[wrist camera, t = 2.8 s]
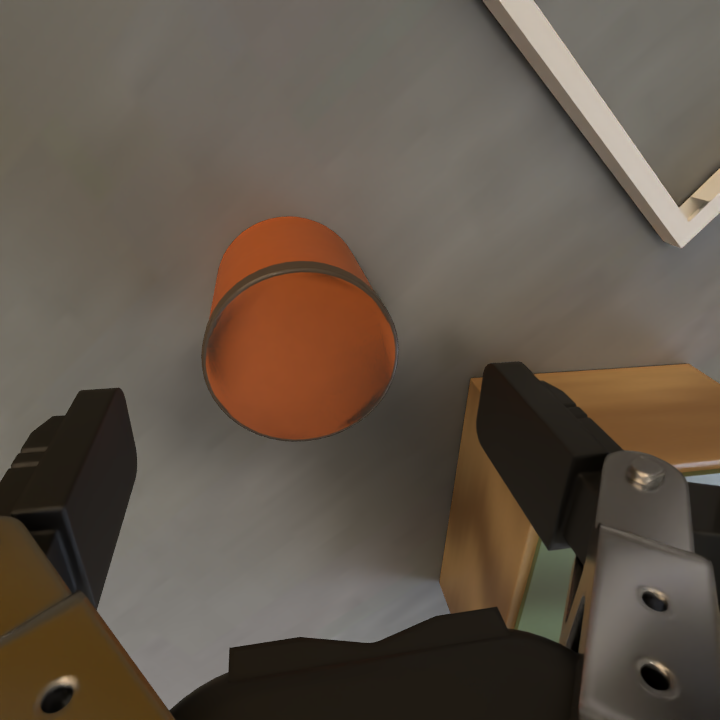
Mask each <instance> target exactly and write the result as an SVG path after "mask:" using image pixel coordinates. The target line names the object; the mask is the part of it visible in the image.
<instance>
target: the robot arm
mask: <svg viewBox="0 0 720 720" xmlns="http://www.w3.org/2000/svg"><path fill="white" fill-rule="evenodd" d="M476 431H477V436H478V440H479V443H480V445H481V447H482V448H483V450H484V451H485V453H486V455H487V456H488V458H489V459H490V461H491V462H492V464H493V466H494V467H495V469H496V470H497V472H498V473H499V475H500V476H501V478H502V480H503V481H504V483H505V484H506V486H507V487H508V489H509V490H510V492H511V494H512V495H513V497H514V498H515V500H516V501H517V503H518V505H519V506H520V508H521V509H522V511H523V512H524V514H525V515H526V517H527V519H528V520H529V522H530V523H531V525H532V526H533V528H534V530H535V531H536V533H537V534H538V536H539V537H540V539H541V540H542V542H543V544H544V545H545V547H546V548H547V550H548V551H553V550H560V549H567V548H572V550H573V551H574V553H575V554H576V555H575V558H574V562H573V565H572V569H571V575H570V581H569V586H568V592H567V598H566V604H565V610H564V616H563V621H562V627H561V633H560V639H559V643H557V642H555V641H553V640H550V639H548V638H546V637H543V636H540V635H536V634H533V633H530V632H526V631H521V630H517V629H510V628H507V626H506V624H505V622H504V620H503V618H502V616H501V614H500V612H499V610H498V607H491V608H485V609H478V610H472V611H465V612H459V613H452V614H446V615H439V616H435V617H433V618H430V619H428V620H426V621H423V622H421V623H419V624H417V625H414V626H412V627H410V628H408V629H405V630H403V631H401V632H399V633H396V634H394V635H392V636H390V637H387V638H385V639H383V640H380V641H378V642H374V643H360V642H349V641H338V640H326V639H315V638H304V637H297V638H291V639H285V640H278V641H272V642H265V643H259V644H252V645H246V646H239V647H233V648H230V650H229V672H228V673H226V674H223V675H221V676H219V677H216V678H214V679H213V680H211V681H209V682H207V683H206V684H204V685H202V686H200V687H199V688H197V689H196V690H194V691H193V692H192V693H190V694H189V695H187V696H186V697H185V698H183V699H182V700H181V701H180V702H179V703H177V704H176V705H175V706H174V707H173V708H172V709H170V710H168V709H167V707H166V706H165V704H164V703H163V702H162V700H161V699H160V698H159V696H158V695H157V693H156V692H155V691H154V689H153V688H152V687H151V685H150V684H149V682H148V681H147V680H146V678H145V677H144V675H143V674H142V673H141V671H140V670H139V669H138V667H137V666H136V664H135V663H134V662H133V660H132V659H131V658H130V656H129V655H128V653H127V652H126V651H125V649H124V648H123V646H122V645H121V644H120V642H119V641H118V640H117V638H116V637H115V635H114V634H113V633H112V631H111V630H110V629H109V627H108V626H107V624H106V623H105V622H104V620H103V619H102V617H101V616H100V615H99V613H98V612H97V607H98V604H99V600H100V597H101V594H102V590H103V587H104V583H105V580H106V577H107V573H108V570H109V567H110V563H111V560H112V556H113V553H114V550H115V546H116V543H117V539H118V536H119V533H120V529H121V526H122V522H123V519H124V516H125V512H126V509H127V505H128V502H129V499H130V495H131V492H132V489H133V485H134V482H135V478H136V472H137V453H136V447H135V442H134V437H133V433H132V428H131V423H130V419H129V414H128V410H127V405H126V400H125V396H124V393H123V391H122V390H121V389H120V388H109V389H94V390H81V391H79V393H78V394H77V396H76V398H75V399H74V401H73V403H72V405H71V406H70V408H69V410H68V412H67V413H66V415H65V416H53V417H51V418H50V419H49V420H47V421H46V422H45V423H43V424H42V425H41V426H39V427H38V428H37V429H36V430H34V431H33V432H32V433H31V434H30V436H29V437H28V439H27V441H26V442H25V444H24V445H23V447H22V449H21V453H20V454H18V455H17V456H16V458H15V460H14V461H13V463H12V464H11V469H8V471H7V472H6V474H5V475H4V477H3V478H2V480H1V482H0V720H720V486H717V485H709V484H701V483H693V482H687V480H686V478H685V477H684V476H683V474H682V473H681V472H680V471H679V470H678V469H676V468H675V467H674V466H672V465H671V464H669V463H668V462H666V461H664V460H662V459H660V458H658V457H655V456H653V455H650V454H647V453H643V452H638V451H628V450H623V449H622V448H621V447H620V446H619V445H618V444H617V443H616V442H615V441H614V440H613V439H612V438H611V437H610V436H609V435H608V434H607V433H606V432H605V431H603V430H602V429H601V428H600V427H599V426H598V425H597V424H596V423H595V422H594V421H593V420H592V419H591V418H590V417H589V418H588V417H587V414H586V413H585V412H584V411H583V410H582V409H581V408H580V407H577V406H576V403H575V402H574V401H573V400H572V399H571V398H570V397H569V396H568V395H567V394H566V393H565V392H563V391H562V390H560V389H558V388H556V387H555V386H553V385H551V384H549V383H547V382H545V381H544V380H541V381H540V380H539V379H538V378H537V377H536V376H535V375H534V374H533V373H532V372H531V371H530V370H529V369H528V368H527V367H526V366H525V365H524V364H523V363H522V362H504V363H490V364H488V365H487V366H486V367H485V369H484V373H483V379H482V385H481V392H480V398H479V405H478V411H477V418H476Z"/></svg>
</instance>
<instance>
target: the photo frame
mask: <svg viewBox="0 0 720 720" xmlns="http://www.w3.org/2000/svg"><path fill="white" fill-rule="evenodd" d="M482 1H483V2H484V3H485V5H486V6H487V7H488V9H489V10H490V11H491V13H492V14H493V15H494V17H495V18H496V19H497V21H498V22H499V23H500V25H501V26H502V27H503V29H504V30H505V31H506V33H507V34H508V35H509V37H510V38H511V39H512V41H513V42H514V43H515V45H516V46H517V47H518V49H519V50H520V51H521V53H522V54H523V55H524V57H525V58H526V59H527V61H528V62H529V63H530V65H531V66H532V67H533V69H534V70H535V71H536V73H537V74H538V75H539V77H540V78H541V79H542V81H543V82H544V83H545V84H546V86H547V87H548V88H549V90H550V91H551V92H552V94H553V95H554V96H555V98H556V99H557V100H558V102H559V103H560V104H561V106H562V107H563V108H564V110H565V111H566V112H567V114H568V115H569V116H570V118H571V119H572V120H573V122H574V123H575V124H576V126H577V127H578V128H579V130H580V131H581V132H582V134H583V135H584V136H585V138H586V139H587V140H588V142H589V143H590V144H591V146H592V147H593V148H594V150H595V151H596V152H597V154H598V155H599V156H600V158H601V159H602V160H603V162H604V163H605V164H606V166H607V167H608V168H609V170H610V171H611V172H612V174H613V175H614V176H615V178H616V179H617V180H618V182H619V183H620V184H621V186H622V187H623V188H624V190H625V191H626V192H627V194H628V195H629V196H630V198H631V199H632V200H633V202H634V203H635V204H636V206H637V207H638V208H639V210H640V211H641V212H642V214H643V215H644V216H645V217H646V219H647V220H648V221H649V223H650V224H651V225H652V227H653V228H654V229H655V231H656V232H657V233H658V235H659V236H660V237H661V239H662V240H663V241H664V242H666V243H669V244H671V245H674V246H676V247H679V248H683V247H684V246H685V245H686V244H687V243H688V242H689V241H690V240H691V239H692V238H693V237H694V236H695V235H696V234H698V233H699V232H700V231H701V230H702V229H703V228H704V227H705V226H706V225H707V224H708V223H709V222H710V221H711V220H712V219H714V218H715V217H716V216H717V215H718V214H719V213H720V169H719V170H718V171H716V172H715V173H714V174H713V175H712V176H711V177H710V178H709V179H708V180H707V181H706V182H705V183H704V184H703V185H702V186H701V187H700V188H699V189H698V190H697V191H696V192H695V193H694V194H693V195H692V196H690V197H689V198H688V199H687V200H686V201H685V202H684V203H683V204H682V205H681V206H680V207H678V206H677V204H676V203H675V202H674V200H673V199H672V197H671V196H670V194H669V193H668V192H667V190H666V189H665V187H664V186H663V184H662V183H661V182H660V180H659V179H658V177H657V176H656V174H655V173H654V172H653V170H652V169H651V167H650V166H649V164H648V163H647V162H646V160H645V159H644V157H643V156H642V154H641V153H640V152H639V150H638V149H637V147H636V146H635V144H634V143H633V142H632V140H631V139H630V137H629V136H628V134H627V133H626V132H625V130H624V129H623V127H622V126H621V124H620V123H619V122H618V120H617V119H616V117H615V116H614V114H613V113H612V112H611V110H610V109H609V107H608V106H607V104H606V103H605V102H604V100H603V99H602V97H601V96H600V94H599V93H598V92H597V90H596V89H595V87H594V86H593V84H592V83H591V82H590V80H589V79H588V77H587V76H586V74H585V73H584V72H583V70H582V69H581V67H580V66H579V64H578V63H577V62H576V60H575V59H574V57H573V56H572V54H571V53H570V52H569V50H568V49H567V47H566V46H565V44H564V43H563V42H562V40H561V39H560V37H559V36H558V34H557V33H556V32H555V30H554V29H553V27H552V26H551V24H550V23H549V22H548V20H547V19H546V17H545V16H544V14H543V13H542V12H541V10H540V9H539V7H538V6H537V4H536V3H535V2H534V0H482Z"/></svg>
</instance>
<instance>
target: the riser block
mask: <svg viewBox="0 0 720 720" xmlns="http://www.w3.org/2000/svg"><path fill="white" fill-rule="evenodd" d="M534 375H535V376H536V377H537V378H538V379H539V380H540V381H541V380H544V381H545V382H547V383H549V384H551V385H553V386H555V387H556V388H558V389H560V390H562V391H563V392H565V393H566V394H567V395H568V396H569V397H570V398H571V399H572V400H573V401H574V402H575V403H576V406H577V407H580V408H581V409H582V410H583V411H584V412H585V413H586V414H587V417H588V418H589V417H590V418H591V419H592V420H593V421H594V422H595V423H596V424H597V425H598V426H599V427H600V428H601V429H602V430H603V431H605V432H606V433H607V434H608V435H609V436H610V437H611V438H612V439H613V440H614V441H615V442H616V443H617V444H618V445H619V446H620V447H621V448H622V449H623V450H628V451H638V452H643V453H647V454H650V455H653V456H655V457H658V458H660V459H662V460H664V461H666V462H668V463H669V464H671V465H672V466H674V467H675V468H676V469H678V470H679V471H680V472H681V473H682V474H683V476H684V477H685V478H686V480H687V482H693V483H701V484H709V485H717V486H720V384H719V383H718V382H716V381H714V380H713V379H711V378H710V377H708V376H707V375H705V374H704V373H702V372H701V371H699V370H698V369H696V368H694V367H693V366H691V365H690V364H678V365H662V366H647V367H632V368H616V369H601V370H586V371H570V372H555V373H540V374H534ZM482 379H483V377H479V378H471V379H470V385H469V391H468V398H467V405H466V411H465V418H464V424H463V431H462V437H461V444H460V450H459V457H458V463H457V470H456V476H455V483H454V490H453V496H452V503H451V509H450V516H449V522H448V529H447V535H446V542H445V548H444V555H443V562H442V568H441V575H440V581H439V583H440V586H441V588H442V591H443V594H444V597H445V599H446V602H447V605H448V607H449V610H450V613H451V614H452V613H459V612H465V611H472V610H478V609H485V608H491V607H498V610H499V612H500V614H501V616H502V618H503V620H504V622H505V624H506V626H507V628H510V629H517V630H521V631H526V632H530V633H533V634H536V635H540V636H543V637H546V638H548V639H550V640H553V641H555V642H557V643H559V639H560V633H561V627H562V621H563V616H564V610H565V604H566V598H567V592H568V586H569V581H570V575H571V569H572V565H573V562H574V558H575V555H576V554H575V553H574V551H573V550H572V548H567V549H560V550H553V551H548V550H547V548H546V547H545V545H544V544H543V542H542V540H541V539H540V537H539V536H538V534H537V533H536V531H535V530H534V528H533V526H532V525H531V523H530V522H529V520H528V519H527V517H526V515H525V514H524V512H523V511H522V509H521V508H520V506H519V505H518V503H517V501H516V500H515V498H514V497H513V495H512V494H511V492H510V490H509V489H508V487H507V486H506V484H505V483H504V481H503V480H502V478H501V476H500V475H499V473H498V472H497V470H496V469H495V467H494V466H493V464H492V462H491V461H490V459H489V458H488V456H487V455H486V453H485V451H484V450H483V448H482V447H481V445H480V443H479V440H478V436H477V431H476V418H477V411H478V405H479V398H480V392H481V385H482Z"/></svg>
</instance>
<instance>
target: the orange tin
mask: <svg viewBox="0 0 720 720" xmlns="http://www.w3.org/2000/svg"><path fill="white" fill-rule="evenodd" d="M201 358H202V370H203V375H204V379H205V382H206V385H207V387H208V390H209V392H210V393H211V395H212V397H213V399H214V400H215V402H216V403H217V404H218V406H219V407H220V408H221V410H222V411H223V412H224V413H225V414H226V415H227V416H228V417H229V418H231V419H232V420H233V421H235V422H236V423H237V424H238V425H240V426H242V427H244V428H245V429H247V430H249V431H251V432H253V433H256V434H258V435H261V436H264V437H267V438H271V439H276V440H281V441H310V440H317V439H321V438H325V437H329V436H332V435H335V434H337V433H340V432H342V431H344V430H346V429H348V428H350V427H352V426H353V425H355V424H356V423H358V422H360V421H361V420H362V419H363V418H365V417H366V416H367V415H368V414H369V413H370V412H371V411H372V410H373V409H374V408H375V407H376V406H377V405H378V404H379V402H380V401H381V400H382V399H383V397H384V396H385V394H386V392H387V391H388V389H389V387H390V385H391V382H392V380H393V378H394V374H395V371H396V368H397V361H398V339H397V333H396V330H395V326H394V323H393V321H392V319H391V317H390V315H389V312H388V311H387V309H386V307H385V306H384V304H383V303H382V301H381V300H380V298H379V297H378V295H377V294H376V293H375V292H374V290H373V289H372V287H371V285H370V283H369V282H368V280H367V278H366V276H365V275H364V273H363V271H362V270H361V268H360V266H359V264H358V263H357V261H356V259H355V257H354V256H353V254H352V252H351V251H350V249H349V248H348V246H347V245H346V243H345V242H344V241H343V240H342V239H341V238H340V237H339V236H338V235H337V234H336V233H335V232H333V231H332V230H330V229H329V228H327V227H326V226H324V225H322V224H320V223H318V222H315V221H312V220H309V219H305V218H300V217H277V218H272V219H268V220H265V221H262V222H259V223H257V224H255V225H253V226H251V227H249V228H248V229H247V230H245V231H244V232H242V233H241V234H240V235H239V236H238V237H237V238H236V239H235V240H234V241H233V242H232V243H231V245H230V246H229V247H228V249H227V250H226V252H225V254H224V256H223V258H222V260H221V263H220V266H219V270H218V274H217V280H216V285H215V291H214V296H213V302H212V307H211V313H210V318H209V321H208V323H207V327H206V330H205V334H204V339H203V345H202V354H201Z"/></svg>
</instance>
